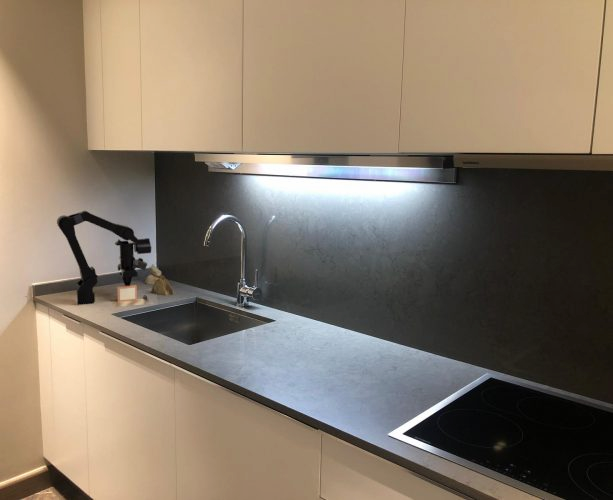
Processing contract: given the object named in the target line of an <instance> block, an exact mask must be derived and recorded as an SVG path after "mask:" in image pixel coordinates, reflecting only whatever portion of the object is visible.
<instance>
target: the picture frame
mask: <svg viewBox="0 0 613 500" xmlns="http://www.w3.org/2000/svg"><path fill="white" fill-rule="evenodd" d="M137 286H138V285H136V284H134V285H133V284H130V286H125V285H119V286H116V289H117V292H116V293H117V294H116V295H117V296H116V297H117V301H118V302H124V301H135V300H137V299H138V293H137V292H138V291H137V289H138V288H137Z"/></svg>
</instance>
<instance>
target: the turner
mask: <svg viewBox="0 0 613 500" xmlns="http://www.w3.org/2000/svg"><path fill="white" fill-rule="evenodd" d="M144 298H145V300H144V302H145V303H146V304H145V305H152V304H151V303H153V301H152V300H151V299H150V298H149V297H148V296H147V295H146V294H144V295H143V299H144ZM148 298H149V299H150V300H149V299H148Z"/></svg>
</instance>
